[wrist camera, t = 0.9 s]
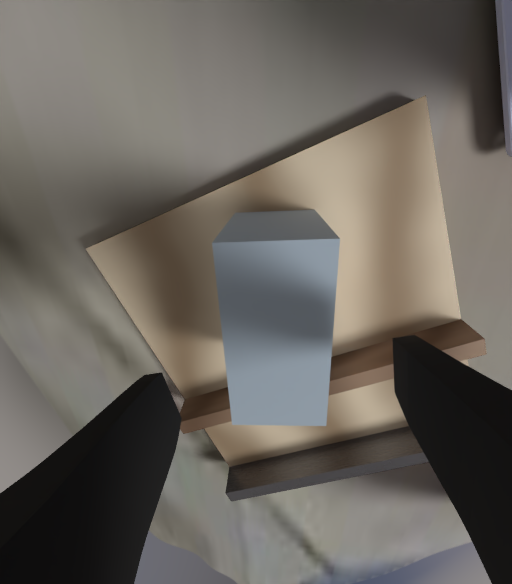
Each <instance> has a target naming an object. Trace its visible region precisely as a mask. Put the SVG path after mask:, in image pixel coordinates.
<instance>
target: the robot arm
mask: <svg viewBox="0 0 512 584" xmlns="http://www.w3.org/2000/svg"><path fill="white" fill-rule="evenodd" d="M495 4H496V18H497V32H498V46H499V60H500V74H501V88H502V102H503V116H504V130H505V144H506V152H507V154H508V155H509V156H510V157H512V0H495ZM392 341H393V366H394V391H395V394H396V397H397V399H398V402H399V404H400V407H401V409H402V411H403V414H404V416H405V418H406V421H407V423H408V425H409V427H410V429H411V431H412V433H413V434H414V436H415V438H416V440H417V441H418V443H419V445H420V447H421V449H422V450H423V452H424V454H425V456H426V458H427V459H428V461H429V463H430V465H431V466H432V468H433V470H434V472H435V473H436V475H437V477H438V479H439V480H440V482H441V484H442V486H443V488H444V489H445V491H446V493H447V495H448V496H449V498H450V500H451V502H452V503H453V505H454V507H455V509H456V510H457V512H458V514H459V516H460V518H461V520H462V522H463V524H464V526H465V528H466V530H467V531H468V533H469V535H470V538H471V540H472V542H473V544H474V546H475V548H476V550H477V552H478V554H479V557H480V559H481V561H482V563H483V565H484V567H485V570H486V572H487V574H488V576H489V578H490V580H491V582H492V584H512V390H510V389H508V388H506V387H504V386H503V385H501V384H499V383H497V382H495V381H493V380H492V379H490V378H488V377H486V376H484V375H483V374H481V373H479V372H477V371H475V370H474V369H472V368H470V367H468V366H467V365H465V364H463V363H462V362H460V361H458V360H456V359H455V358H453V357H451V356H450V355H448V354H446V353H445V352H443V351H441V350H440V349H438V348H436V347H435V346H433V345H431V344H430V343H428V342H426V341H425V340H423V339H421V338H419V337H418V336H416V335H410V336H403V337H397V338H392ZM181 420H182V418H181V416H180V413H179V411H178V409H177V407H176V404H175V402H174V400H173V397H172V395H171V393H170V391H169V388H168V386H167V384H166V381H165V379H164V377H163V375H162V373H155V374H149V375H144V376H143V377H141V378H140V379H139V380H137V381H136V382H135V383H134V384H132V385H131V386H130V387H129V388H128V389H127V390H125V391H124V392H123V393H122V394H121V395H120V396H119V397H117V398H116V399H115V400H114V401H113V402H112V403H111V404H110V405H108V406H107V407H106V408H105V409H104V410H103V411H102V412H101V413H99V414H98V415H97V416H96V417H95V418H94V419H93V420H91V421H90V422H89V423H88V424H87V425H86V426H85V427H83V428H82V429H81V430H80V431H79V432H78V433H76V434H75V435H74V436H73V437H72V438H70V439H69V440H68V441H67V442H66V443H64V444H63V445H62V446H61V447H60V448H58V449H57V450H56V451H55V452H54V453H52V454H51V455H50V456H49V457H48V458H46V459H45V460H44V461H43V462H41V463H40V464H39V465H38V466H36V467H35V468H34V469H32V470H31V471H30V472H29V473H27V474H26V475H25V476H24V477H22V478H21V479H19V480H18V481H17V482H15V483H14V484H13V485H11V486H10V487H9V488H7V489H6V490H5V491H3V492H2V493H0V584H134V581H135V577H136V573H137V569H138V565H139V561H140V557H141V554H142V550H143V547H144V543H145V540H146V537H147V534H148V530H149V528H150V525H151V522H152V519H153V516H154V513H155V510H156V507H157V504H158V501H159V498H160V495H161V492H162V489H163V486H164V483H165V480H166V478H167V474H168V471H169V468H170V465H171V462H172V459H173V456H174V453H175V450H176V445H177V441H178V436H179V431H180V425H181Z"/></svg>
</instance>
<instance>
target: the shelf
mask: <svg viewBox="0 0 512 584" xmlns="http://www.w3.org/2000/svg"><path fill="white" fill-rule="evenodd" d="M293 210H316V212H317V213H318V214H319V215H320V216H321V217H322V218H323V220H324V221H325V222H326V223H327V224H328V225H329V227H330V228H331V229H332V230H333V231H334V232H335V233H336V235H337V236H338V237H339V238H340V246H339V260H338V274H337V287H336V301H335V314H334V328H333V342H332V355H331V369H330V382H329V396H328V410H327V423H326V426H283V425H232V418H231V409H230V400H229V391H228V382H227V373H226V364H225V355H224V346H223V337H222V328H221V319H220V310H219V301H218V292H217V283H216V274H215V265H214V256H213V247H212V242H213V241H214V240H215V238H216V237H217V236H218V234H219V233H220V232H221V230H222V229H223V228H224V227H225V225H226V224H227V223H228V221H229V220H230V219H231V217H232V216H233V215H234V214H235V213H241V212H267V211H293ZM86 250H87V252H88V253H89V255H90V256H91V258H92V259H93V261H94V262H95V264H96V266H97V267H98V269H99V270H100V272H101V273H102V275H103V276H104V278H105V279H106V281H107V282H108V284H109V285H110V287H111V288H112V290H113V291H114V293H115V294H116V296H117V297H118V299H119V300H120V302H121V303H122V305H123V306H124V308H125V309H126V311H127V312H128V314H129V315H130V317H131V318H132V320H133V322H134V323H135V325H136V326H137V328H138V329H139V331H140V332H141V334H142V335H143V337H144V338H145V340H146V341H147V343H148V344H149V346H150V347H151V349H152V350H153V352H154V353H155V355H156V356H157V358H158V359H159V361H160V362H161V364H162V365H163V367H164V368H165V370H166V371H167V373H168V374H169V376H170V378H171V379H172V381H173V382H174V384H175V385H176V387H177V388H178V390H179V391H180V393H181V394H182V396H183V397H184V399H185V401H184V404H183V406H182V409H181V412H180V416H181V418H182V420H181V425H180V429H181V431H182V432H183V434H185V433H189V432H193V431H197V430H200V429H205V430H206V432H207V433H208V435H209V437H210V438H211V440H212V441H213V443H214V444H215V446H216V447H217V449H218V450H219V452H220V453H221V455H222V456H223V458H224V459H225V461H226V462H227V464H228V465H229V467H231V466H235V465H239V464H244V463H248V462H253V461H257V460H261V459H266V458H270V457H275V456H279V455H283V454H288V453H292V452H297V451H301V450H305V449H310V448H314V447H318V446H323V445H327V444H332V443H336V442H340V441H345V440H349V439H354V438H358V437H362V436H367V435H371V434H376V433H380V432H384V431H389V430H393V429H398V428H402V427H406V426H409V425H408V423H407V421H406V418H405V416H404V414H403V411H402V409H401V407H400V404H399V402H398V399H397V397H396V394H395V391H394V366H393V341H392V338H397V337H403V336H410V335H416V336H418V337H419V338H421V339H423V340H425V341H426V342H428V343H430V344H431V345H433V346H435V347H436V348H438V349H440V350H441V351H443V352H445V353H446V354H448V355H450V356H451V357H453V358H455V359H456V360H458V361H460V362H462V363H463V364H465V365H467V366H468V360H467V359H470V358H474V357H478V356H482V355H485V354H486V346H485V339H484V338H483V337H482V336H481V335H479V334H478V333H477V332H476V331H475V330H473V329H472V328H471V327H470V326H469V325H467V324H466V323H465V322H464V321H463V320H461V315H460V309H459V303H458V296H457V290H456V284H455V277H454V271H453V265H452V258H451V252H450V246H449V239H448V233H447V227H446V220H445V214H444V208H443V201H442V195H441V189H440V182H439V176H438V170H437V163H436V157H435V151H434V144H433V138H432V132H431V125H430V119H429V113H428V106H427V100H426V95H425V96H423V97H421V98H419V99H416V100H414V101H412V102H410V103H407V104H405V105H403V106H401V107H399V108H396V109H394V110H392V111H390V112H387V113H385V114H383V115H381V116H379V117H376V118H374V119H372V120H370V121H368V122H365V123H363V124H361V125H359V126H356V127H354V128H352V129H350V130H348V131H345V132H343V133H341V134H339V135H337V136H334V137H332V138H330V139H328V140H325V141H323V142H321V143H319V144H317V145H314V146H312V147H310V148H308V149H306V150H303V151H301V152H299V153H297V154H294V155H292V156H290V157H288V158H286V159H283V160H281V161H279V162H277V163H275V164H272V165H270V166H268V167H266V168H263V169H261V170H259V171H257V172H255V173H252V174H250V175H248V176H246V177H244V178H241V179H239V180H237V181H235V182H232V183H230V184H228V185H226V186H224V187H221V188H219V189H217V190H215V191H213V192H210V193H208V194H206V195H204V196H201V197H199V198H197V199H195V200H193V201H190V202H188V203H186V204H184V205H182V206H179V207H177V208H175V209H173V210H170V211H168V212H166V213H164V214H162V215H159V216H157V217H155V218H153V219H151V220H148V221H146V222H144V223H142V224H139V225H137V226H135V227H133V228H131V229H128V230H126V231H124V232H122V233H120V234H117V235H115V236H113V237H111V238H108V239H106V240H104V241H102V242H100V243H97V244H95V245H93V246H91V247H89V248H86ZM468 367H469V366H468Z"/></svg>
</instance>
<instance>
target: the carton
mask: <svg viewBox="0 0 512 584" xmlns="http://www.w3.org/2000/svg"><path fill="white" fill-rule="evenodd" d="M339 246H340V238H339V237H338V236H337V235H336V233H335V232H334V231H333V230H332V229H331V228H330V227H329V225H328V224H327V223H326V222H325V221H324V220H323V218H322V217H321V216H320V215H319V214H318V213H317V212H316V210H293V211H267V212H241V213H235V214H234V215H233V216H232V217H231V219H230V220H229V221H228V223H227V224H226V225H225V227H224V228H223V229H222V230H221V232H220V233H219V234H218V236H217V237H216V238H215V240H214V241H213V242H212V247H213V256H214V265H215V274H216V283H217V292H218V301H219V310H220V319H221V328H222V337H223V346H224V355H225V364H226V373H227V382H228V391H229V400H230V409H231V418H232V425H283V426H326V423H327V410H328V396H329V382H330V369H331V355H332V342H333V328H334V314H335V301H336V287H337V274H338V260H339Z"/></svg>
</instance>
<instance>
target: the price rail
mask: <svg viewBox="0 0 512 584" xmlns="http://www.w3.org/2000/svg"><path fill="white" fill-rule="evenodd" d="M426 462H429V461H428V459H427V458H426V456H425V454H424V452H423V450H422V449H421V447H420V445H419V443H418V441H417V440H416V438H415V436H414V434H413V433H412V431H411V429H410V427H409V426H406V427H402V428H398V429H393V430H389V431H384V432H380V433H376V434H371V435H367V436H362V437H358V438H354V439H349V440H345V441H340V442H336V443H332V444H327V445H323V446H318V447H314V448H310V449H305V450H301V451H297V452H292V453H288V454H283V455H279V456H275V457H270V458H266V459H261V460H257V461H253V462H248V463H244V464H239V465H235V466H231V467H229V473H228V480H227V487H226V495H227V496H228V497H229V499H230V500H231V501H236V500H241V499H246V498H251V497H256V496H261V495H266V494H271V493H276V492H281V491H286V490H291V489H296V488H301V487H306V486H311V485H316V484H321V483H326V482H331V481H336V480H341V479H346V478H351V477H356V476H361V475H366V474H371V473H376V472H381V471H386V470H391V469H396V468H401V467H406V466H411V465H416V464H421V463H426Z"/></svg>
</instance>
